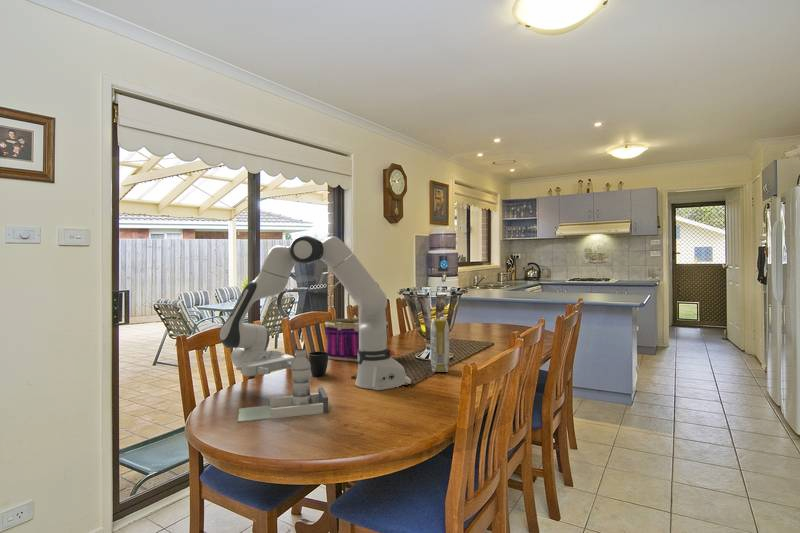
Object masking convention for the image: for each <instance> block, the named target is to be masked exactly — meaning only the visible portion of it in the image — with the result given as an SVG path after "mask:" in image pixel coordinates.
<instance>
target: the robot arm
mask: <svg viewBox="0 0 800 533" xmlns="http://www.w3.org/2000/svg"><path fill="white" fill-rule="evenodd" d="M318 260H319V261H322V262H323V263H324V264H325V265H326V266H327V267H328V269H330V271H331V273H333V275H334V276H335V278H336V279H337V280H338V282H339V281H340V282H341V283H340V284H341V285H342V286H343V287H344V289H345V291H346V292H347V294H348V293H349V297H351V298H352V300H353V301H354V302H355V304H356V306H358V307H357V308H358V309H357V311H358V317H359V349H358V362H357V364H358V365H357V366H358V367H357V372H356V373H357V374H356V379H355V382H354V385H355V386H357V388H362V389H367V390H369V389H370V390H375V391H382V390H388V389H395V387H396V388H400V387H399V386H401V385H402V384H405V383H403V382H407V383H411V382H412V379H411V378H410V377H408V376H407V375H406V371H405V367H404V366H403V365H402V364H401V363H400V362H398V361H397V360H396V359H394V358H393V357H394V356H395V350H393V349H390V348H388V347H387V334H386V322H387V318H386V316H387V315H386V309H387V306H388V298H387V295H386V294H385V292H384V291H383V289H382V288H381V287H380V285H379V283H378V282H376V281H375V279H374V278H373V277H372V275H371V274H370V273H369V272H368V270H367V269H366V268H365V267H364V265H363V264H362V262H361V261H360V260H359V259H358V257H357V256H356V255H355V253H354V252H353V251H352V250H351V249H350V247H349V246H348V245H346V243H344V241H343V240H341V239H340V238H339V237H337V236H328V237H326V238H325V239H323V240H319V239H316V238H315V237H312V236H309V235H299V236H297V237H295V238H294V239H293V240H292V241H291V243H290V245H289V246H286V245H285V246H284V245H275V246H273V247H271V249H270V250H269V251H268V253H267V255H266V257H265V259H264V261H263V263H262V266H261V269H260V271H259V273H258V274H257V276H256V277H255V278H254V280H252V281H250V282H248V283H247V284H246V286H245V287H244V289H243V290H242V292H241V293H240V295H239V297H238V299H237V301H236V303H235V304H234V306H233V309H232V310H231V312H230V315H229V316H228V318H227V319H226V321H225V322H224V323H223V324H222V326H221V328H220V330H219V333H218V337H219V340H220V342H221V344H222V345H223V346H224V347H225V348H226V349H233V348H234V349H233V350H232V352H231V354H230V361H231V362H232V363H233V365H234V367H235V369H236V370H237V371H240V374H242V375H243V376H244V377H253V376H263V375H269V374H271V372H276V371H281V370H286V369H288V370H291V364H292V362H293V360H294V359H295V358H296V356H295V355H294V356H293V355H291V354H288V353H283V352H282V351H281V350H267V349H268V347H269V344H270V334H269V331H268V330H269V329H268V328H267V327H266V326H265V325H262V324H256V323H249V322H244V321H245V318H246V316H247V314H248V312H249V311H250V309H251V307H252V305H253V304H254V303H255V302H256V301H258V300H261V299H264V298H269V297H275V296H278V295H280V294H281V293H283V292H284V291H285V289H286V287H287V285H288V282H289V280H290V277H291V273H292V271H293V269H294V267H295V266H296V265H298V264H303V265H311V264H313V263H315V262H316V261H318ZM378 285H379V286H378Z"/></svg>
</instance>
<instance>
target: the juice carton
mask: <svg viewBox="0 0 800 533" xmlns="http://www.w3.org/2000/svg"><path fill="white" fill-rule="evenodd" d="M430 365H431V370H432V372H433V371H439V372H449V368H450V326H449V322H448V320H447V317H445V316H440V317H439V318H432V319H431V322H430Z"/></svg>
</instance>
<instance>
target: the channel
mask: <svg viewBox="0 0 800 533" xmlns="http://www.w3.org/2000/svg"><path fill="white" fill-rule="evenodd" d="M310 394H311V399H312V403H311V404H307V405H297V406H292V395H283V396H275V397H269V405H270V408H271V419H272V420H274V419H282V418H291V417H299V416H300V417H301V416H308V415H310V416H311V415H317V414H326V413H329V396H328V394H327V393H326V391H325V389H324V387H323V386H322V387H321V386H320V387H319V386H318V391H317V392H315V393H310ZM289 405H290V406H289Z"/></svg>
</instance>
